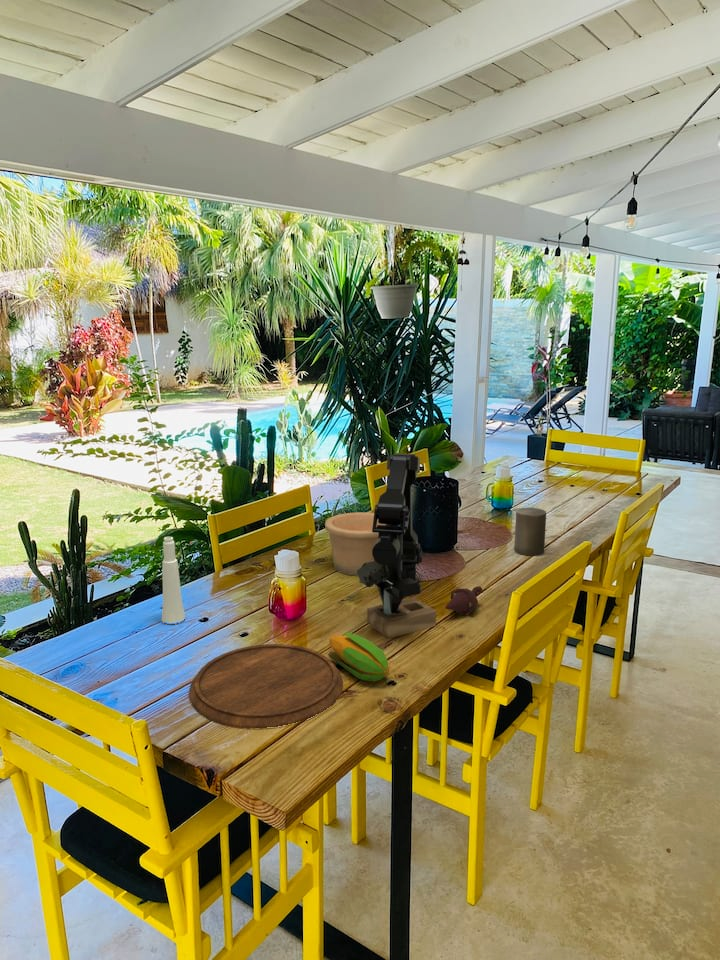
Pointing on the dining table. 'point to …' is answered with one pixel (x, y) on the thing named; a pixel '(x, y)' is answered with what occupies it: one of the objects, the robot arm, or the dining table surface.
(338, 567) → the pottery
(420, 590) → the robot arm
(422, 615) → the socket block
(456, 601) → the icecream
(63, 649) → the dining table surface
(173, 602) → the cosmetic bottle
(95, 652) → the dining table surface
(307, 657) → the cutting board
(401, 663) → the dining table surface
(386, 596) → the dowel
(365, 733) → the dining table surface
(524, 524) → the pillar candle
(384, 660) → the corn
